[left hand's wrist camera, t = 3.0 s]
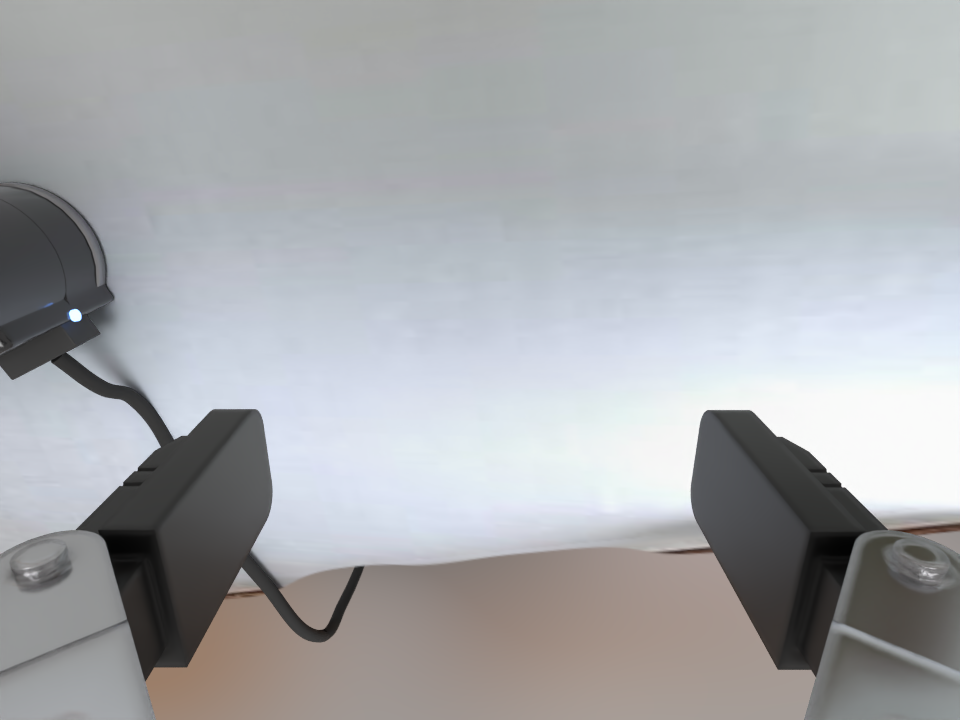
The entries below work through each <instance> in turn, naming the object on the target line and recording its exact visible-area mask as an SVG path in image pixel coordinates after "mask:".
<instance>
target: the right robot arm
mask: <svg viewBox="0 0 960 720" xmlns="http://www.w3.org/2000/svg"><path fill="white" fill-rule="evenodd" d="M112 300H113V296H112V295H111V293H110V292H109V290H108V289H107V287H106V285H105V263H104V258H103V254H102V251H101V248H100V245H99V243H98V241H97V239H96V237H95V235H94V233H93V231H92V230H91V228H90V227H89V225H88V224H87V223H86V221H85V220H84V219H83V218H82V217H81V216H80V215H79V213H78V212H76V211H75V210H74V209H73V208H72V207H71V206H70V205H69V204H67V203H66V202H65V201H63V200H62V199H60V198H59V197H57V196H55V195H54V194H52V193H50V192H48V191H46V190H43V189H41V188H38V187H35V186H32V185H28V184H22V183H0V366H1V367H2V368H3V370H4V371H5V372H6V373H7V374H8V376H9V377H10V378H11V379H12V380H14V379H16V378H18V377H20V376H22V375H24V374H25V373H27V372H29V371H31V370H33V369H35V368H37V367H39V366H41V365H43V364H45V363H47V362H49V361H50V360H51V363H53V364H54V365H56V366H57V367H58V368H60V369H61V370H62V371H64V372H65V373H66V374H68V375H69V376H70V377H72V378H73V379H74V380H76V381H77V382H78V383H80V384H81V385H83V386H84V387H86V388H87V389H89V390H91V391H93V392H94V393H96V394H98V395H101V396H103V397H107V398H113V399H121V400H123V401H125V402H127V403H128V404H129V405H130V406H131V407H132V408H134V409H135V410H136V411H137V412H138V413H139V414H140V415H141V417H142V418H143V419H144V420H145V421H146V423H147V424H148V425H149V427H150V428H151V430H152V432H153V433H154V435H155V437H156V438H157V440H158V442H159V444H160V446H161V447H163V446H164V445H166V444H168V443H170V442H172V441H173V438H172V436H171V434H170V433H169V431H168V429H167V427H166V426H165V424H164V423H163V421H162V419H161V418H160V416H159V415H158V414H157V412H156V411H155V409H154V408H153V407H152V406H151V405H150V403H149V402H148V401H147V400H146V399H145V398H143V397H142V396H141V395H140V394H139V393H138V392H137V391H135V390H133V389H131V388H129V387H125V386H119V385H113V384H110V383H108V382H106V381H104V380H102V379H101V378H99V377H98V376H96V375H95V374H93V373H92V372H90V371H89V370H88V369H86V368H85V367H84V366H83V365H81V364H80V363H79V362H78V361H76V360H75V359H74V358H72V357H71V356H70V355H69V354H67V353H66V352H68V351H70V350H72V349H74V348H75V347H77V346H79V345H81V344H83V343H85V342H87V341H88V340H90V339H92V338H94V337H96V336H98V335H99V334H100V332H99V331H98V329H97V328H96V327H95V326H94V324H93V323H92V322H91V320H90V319H89V318H88V316H87V314H89V313H91V312H92V311H94V310H96V309H98V308H100V307H102V306H104V305H106V304H108V303H109V302H111V301H112ZM364 566H365V565H364ZM364 566H355V567H354V570H353V572H352V574H351V576H350V579H349V581H348V583H347V585H346V587H345V589H344V591H343V593H342V595H341V597H340V599H339V601H338V603H337V605H336V607H335V610H334V612H333V614H332V617H331V619H330V621H329V623H328V625H327V626H326V627H325V629H323V630H316V629H313V628H311V627H309V626H308V625H306V624H305V623H304V622H303V621H302V620H301V619H300V618H299V617H298V616H297V614H296V613H295V612H294V611H293V609H292V608H291V607H290V605H289V604H288V602H287V601H286V600H285V598H284V597H283V595H282V594H281V593H280V591H279V590H278V588H277V587H276V586H275V584H274V583H273V582H272V581H271V580H270V578H269V577H268V576H267V575H266V574H265V573H264V571H263V570H262V569H261V568H260V567H259V566H258V564H257V563H256V562H255V561H254V560H253V559H252V557H251V556H250V555H249V554H248V556H247V557H246V559H245V561H244V563H243V565H242V568H243V569H244V570H245V571H246V573H247V574H248V575H249V576H250V577H251V578H252V579H253V581H254V582H255V583H256V584H257V585H258V586H259V587H260V589H261V590H262V591H263V592H264V593H265V595H266V596H267V597H268V599H269V600H270V601H271V603H272V604H273V606H274V607H275V608H276V610H277V611H278V612H279V614H280V615H281V617H282V618H283V619H284V621H285V622H286V623H287V624H288V626H289V627H290V628H291V629H292V630H293V631H294V632H295V633H296V634H298V635H299V636H300V637H302V638H304V639H306V640H308V641H312V642H325V641H327V640H328V639H330V638H331V637H332V636H333V635H334V634H335V633H336V631H337V629H338V627H339V625H340V623H341V620H342V618H343V615H344V612H345V610H346V608H347V606H348V604H349V602H350V600H351V598H352V595H353V593H354V591H355V589H356V587H357V584H358V582H359V579H360V577H361V575H362V572H363V569H364Z"/></svg>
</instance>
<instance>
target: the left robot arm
mask: <svg viewBox="0 0 960 720" xmlns="http://www.w3.org/2000/svg"><path fill="white" fill-rule="evenodd" d="M691 503H692V509H693V513H694V516H695V519H696V521H697V523H698V525H699V527H700V529H701V530H702V532H703V534H704V536H705V538H706V540H707V541H708V543H709V545H710V547H711V549H712V550H713V552H714V554H715V556H716V558H717V560H718V561H719V563H720V565H721V567H722V569H723V570H724V572H725V574H726V576H727V578H728V580H729V581H730V583H731V585H732V587H733V589H734V591H735V592H736V594H737V596H738V598H739V600H740V601H741V603H742V605H743V607H744V609H745V611H746V612H747V614H748V616H749V618H750V620H751V621H752V623H753V625H754V627H755V629H756V631H757V632H758V634H759V636H760V638H761V640H762V642H763V643H764V645H765V647H766V649H767V651H768V652H769V654H770V656H771V658H772V660H773V662H774V663H775V665H776V667H777V669H778V670H812V672H813V673H814V675H815V677H816V680H815V683H814V687H813V690H812V694H811V697H810V701H809V705H808V708H807V712H806V715H805V719H804V720H960V555H959V554H958V553H956V552H955V551H953V550H951V549H949V548H947V547H945V546H943V545H941V544H939V543H937V542H934V541H932V540H929V539H926V538H924V537H920V536H917V535H913V534H909V533H904V532H899V531H891V530H888V529H887V528H886V527H885V526H884V525H883V524H882V523H881V522H880V521H878V520H877V519H876V518H875V517H874V516H873V515H872V514H871V513H870V512H869V511H868V510H867V509H866V508H865V507H864V506H863V505H862V504H861V503H860V502H859V501H858V500H857V499H856V498H855V497H854V496H853V495H852V494H851V493H850V492H849V491H848V490H847V489H846V488H842V487H841V483H840V482H839V481H838V480H837V479H836V478H835V477H834V476H833V475H832V474H831V473H827V471H826V468H825V467H824V466H823V465H822V464H821V463H820V462H819V461H818V460H817V459H816V458H815V457H814V456H813V455H812V454H811V453H810V452H808V451H807V450H805V449H803V448H801V447H799V446H798V445H796V444H794V443H792V442H790V441H789V440H787V439H785V438H783V437H776V436H775V434H774V433H773V432H772V431H771V430H770V429H769V428H768V427H767V426H766V425H765V424H764V423H763V422H762V421H761V420H760V419H759V418H758V417H757V416H756V415H755V414H754V413H753V412H752V411H750V410H707V411H706V412H705V413H704V414H703V416H702V419H701V422H700V428H699V435H698V442H697V448H696V455H695V462H694V469H693V476H692V482H691ZM271 504H272V480H271V473H270V466H269V459H268V452H267V446H266V439H265V432H264V425H263V420H262V417H261V414H260V413H259V411H258V410H256V409H214V410H212V411H210V412H209V413H208V414H207V416H206V417H205V418H204V419H203V420H202V421H201V422H200V423H199V424H198V425H197V426H196V427H195V428H194V429H193V430H192V431H191V432H190V433H189V435H188V436H181V437H179V438H177V439H175V440H173V441H172V442H170V443H168V444H166V445H164V446H163V447H161V448H159V449H157V450H155V451H154V452H153V453H152V454H151V455H150V456H149V457H148V458H147V459H146V460H145V461H144V462H143V463H142V464H141V465H140V466H139V467H138V471H134V472H133V473H132V474H131V475H130V476H129V477H128V478H127V479H126V480H125V481H124V482H123V486H119V487H118V488H117V489H116V490H115V491H114V492H113V493H112V494H111V495H110V496H109V497H108V498H107V499H106V500H105V501H104V502H103V503H102V504H101V505H100V506H99V507H98V508H97V509H96V510H95V511H94V512H93V513H92V514H91V515H90V516H89V517H88V518H87V519H86V520H85V521H84V522H83V523H82V524H81V525H80V526H79V527H78V528H77V529H76V530H69V531H61V532H56V533H51V534H47V535H43V536H40V537H36V538H34V539H31V540H28V541H26V542H23V543H21V544H19V545H16V546H15V547H13V548H11V549H9V550H7V551H5V552H4V553H2V554H0V720H156V719H155V715H154V712H153V708H152V705H151V701H150V697H149V694H148V690H147V687H146V683H145V681H146V680H147V678H148V676H149V675H150V673H151V671H152V670H153V668H154V667H187V666H188V664H189V662H190V661H191V659H192V657H193V655H194V653H195V652H196V650H197V648H198V646H199V644H200V642H201V640H202V639H203V637H204V635H205V633H206V631H207V629H208V628H209V626H210V624H211V622H212V620H213V618H214V617H215V615H216V613H217V611H218V609H219V607H220V605H221V604H222V602H223V600H224V598H225V596H226V594H227V593H228V591H229V589H230V587H231V585H232V583H233V581H234V580H235V578H236V576H237V574H238V572H239V570H240V569H241V567H242V565H243V563H244V561H245V559H246V557H247V556H248V554H249V552H250V550H251V548H252V546H253V545H254V543H255V541H256V539H257V537H258V535H259V534H260V532H261V530H262V528H263V526H264V524H265V522H266V521H267V518H268V516H269V513H270V509H271Z"/></svg>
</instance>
